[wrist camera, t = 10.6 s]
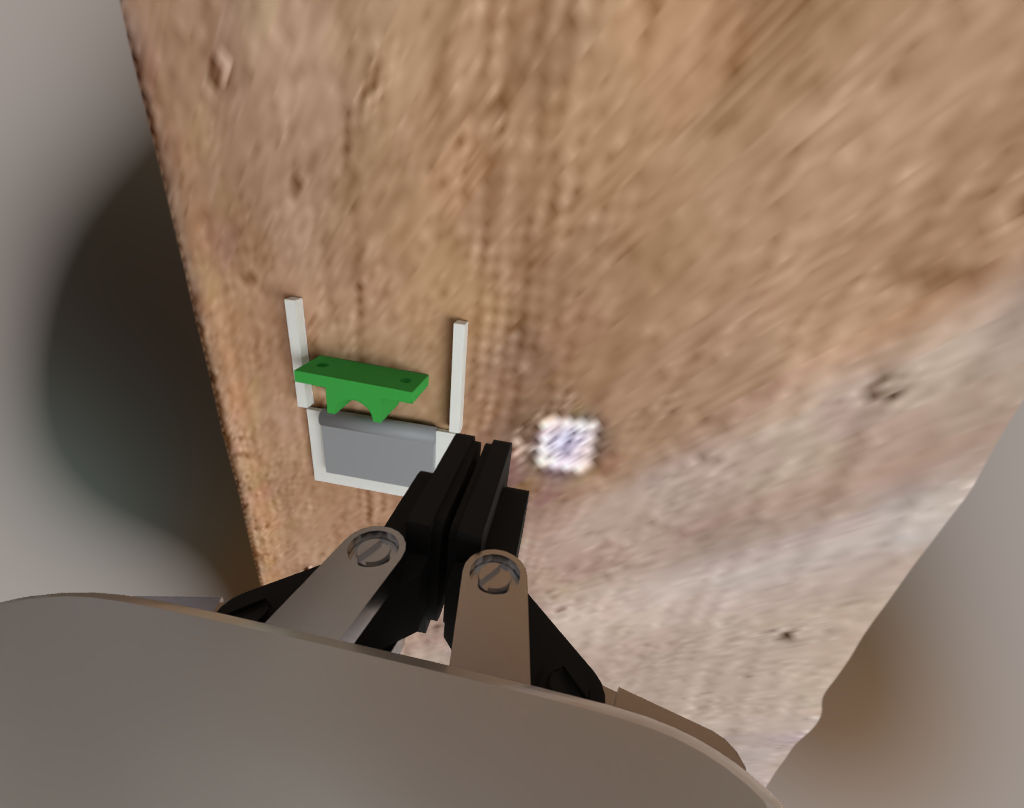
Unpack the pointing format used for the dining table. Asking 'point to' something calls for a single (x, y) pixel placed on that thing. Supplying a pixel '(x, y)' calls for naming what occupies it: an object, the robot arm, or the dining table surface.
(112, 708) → the robot arm
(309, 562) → the dining table surface
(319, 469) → the hinge base
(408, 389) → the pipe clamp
